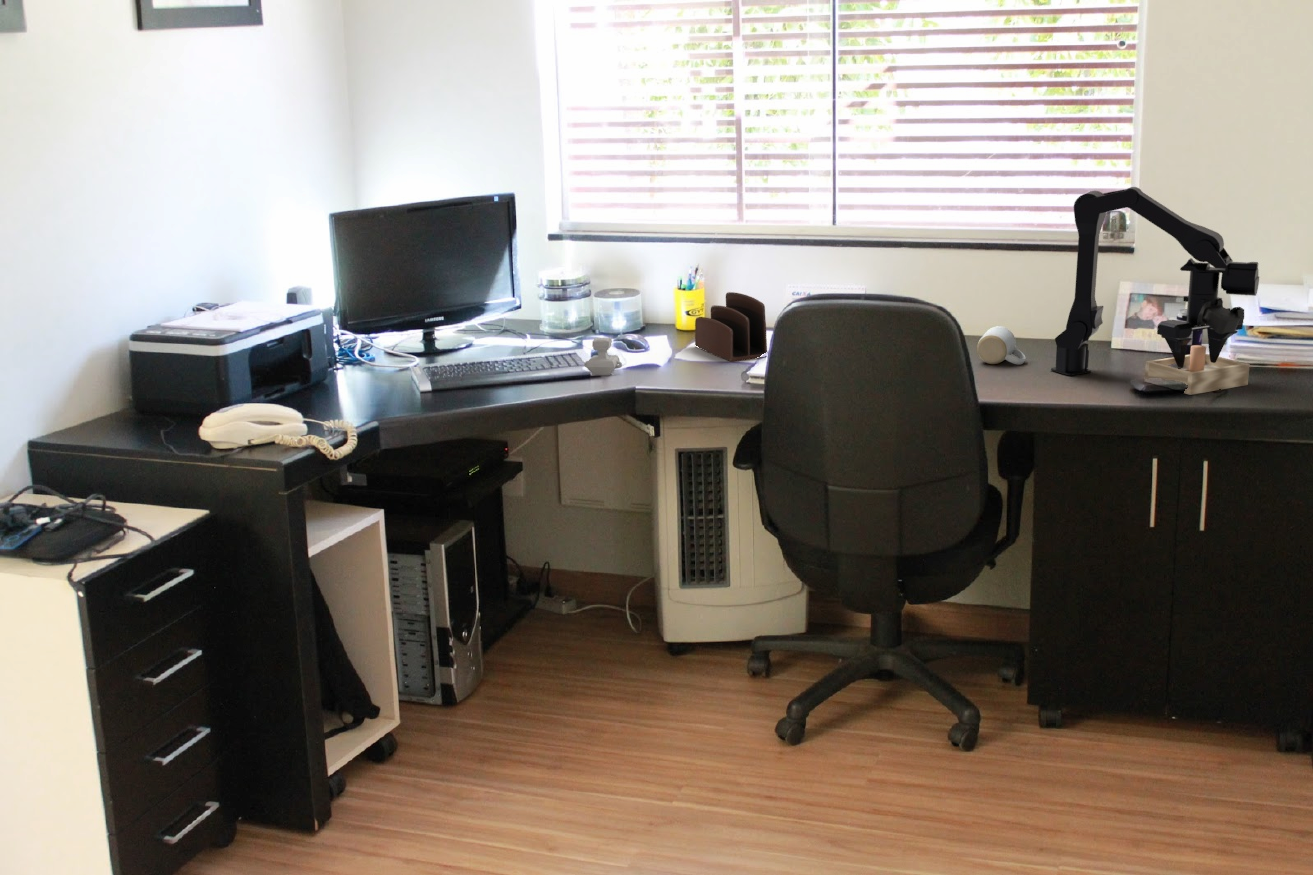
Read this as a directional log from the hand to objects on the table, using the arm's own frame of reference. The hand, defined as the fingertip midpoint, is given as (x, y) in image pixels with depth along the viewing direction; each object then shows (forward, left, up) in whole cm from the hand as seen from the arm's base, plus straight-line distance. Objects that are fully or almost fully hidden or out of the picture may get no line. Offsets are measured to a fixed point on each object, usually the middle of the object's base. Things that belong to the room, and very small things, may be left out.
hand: (1196, 365), depth 280 cm
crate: (0, 0, -4) cm, 4 cm away
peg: (0, 0, -4) cm, 4 cm away
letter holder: (-70, +80, -4) cm, 107 cm away
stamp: (-106, +75, -4) cm, 130 cm away
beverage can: (+12, +14, -4) cm, 19 cm away
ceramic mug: (-22, +37, -4) cm, 44 cm away
